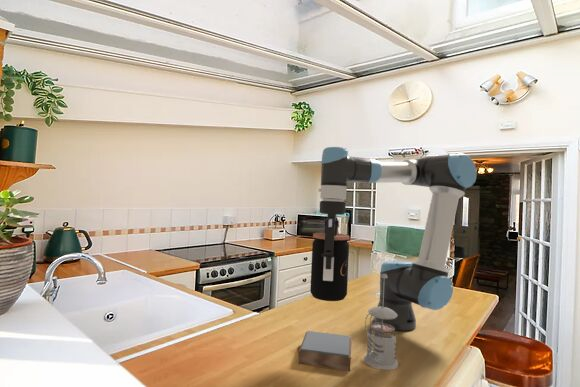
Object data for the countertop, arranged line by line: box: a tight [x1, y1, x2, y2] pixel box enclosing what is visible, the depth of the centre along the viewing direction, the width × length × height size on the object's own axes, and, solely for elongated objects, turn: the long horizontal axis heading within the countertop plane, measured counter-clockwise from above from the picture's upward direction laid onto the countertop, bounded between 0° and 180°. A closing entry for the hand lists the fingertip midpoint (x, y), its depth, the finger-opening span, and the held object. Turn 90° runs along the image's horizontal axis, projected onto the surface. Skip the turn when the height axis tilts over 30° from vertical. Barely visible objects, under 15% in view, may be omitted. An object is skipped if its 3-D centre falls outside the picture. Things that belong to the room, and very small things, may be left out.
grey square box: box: [298, 330, 352, 372], centre depth 98 cm, size 14×14×4 cm
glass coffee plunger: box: [362, 274, 399, 371], centre depth 98 cm, size 10×12×25 cm
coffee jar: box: [310, 232, 350, 302], centre depth 99 cm, size 11×11×18 cm
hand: (329, 275), depth 99 cm, fingers closed on coffee jar, 11 cm apart
